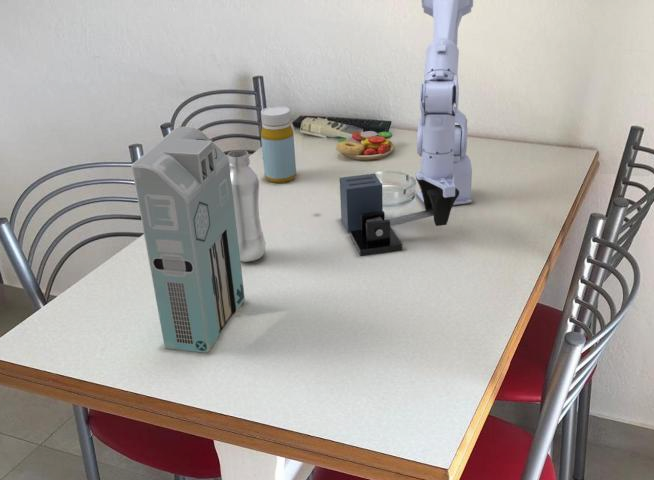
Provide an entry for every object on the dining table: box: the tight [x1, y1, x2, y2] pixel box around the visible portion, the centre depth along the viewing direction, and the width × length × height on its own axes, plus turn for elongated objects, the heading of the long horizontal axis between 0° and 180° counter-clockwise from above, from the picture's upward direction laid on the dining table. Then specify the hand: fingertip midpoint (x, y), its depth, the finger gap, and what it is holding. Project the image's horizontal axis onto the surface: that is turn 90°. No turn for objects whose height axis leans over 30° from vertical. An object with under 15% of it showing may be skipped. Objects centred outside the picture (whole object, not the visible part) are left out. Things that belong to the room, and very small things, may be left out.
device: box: [131, 125, 246, 354], centre depth 133 cm, size 16×8×30 cm, turn 165°
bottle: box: [260, 105, 297, 184], centre depth 188 cm, size 7×7×15 cm
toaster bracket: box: [349, 210, 403, 257], centre depth 162 cm, size 8×8×5 cm
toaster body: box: [339, 173, 384, 234], centre depth 168 cm, size 7×6×9 cm
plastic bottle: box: [227, 149, 266, 263], centre depth 155 cm, size 6×7×20 cm
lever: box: [366, 204, 434, 227], centre depth 162 cm, size 14×5×2 cm, turn 102°
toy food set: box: [335, 130, 395, 161], centre depth 203 cm, size 13×13×3 cm
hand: (436, 218), depth 164 cm, fingers closed on lever, 5 cm apart
